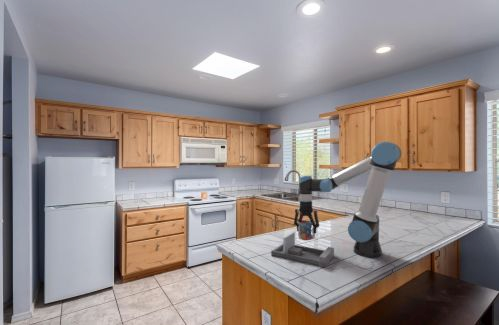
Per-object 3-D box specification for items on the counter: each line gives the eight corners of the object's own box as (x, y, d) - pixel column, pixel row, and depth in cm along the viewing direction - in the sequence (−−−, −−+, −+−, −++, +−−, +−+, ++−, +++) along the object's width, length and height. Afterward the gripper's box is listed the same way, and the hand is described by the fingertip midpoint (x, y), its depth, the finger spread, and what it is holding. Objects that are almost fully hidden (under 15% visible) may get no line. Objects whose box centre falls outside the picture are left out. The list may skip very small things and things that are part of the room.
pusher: (304, 250, 149) (304, 233, 149) (295, 258, 137) (295, 239, 137) (292, 248, 153) (293, 231, 152) (283, 255, 141) (283, 237, 141)
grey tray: (333, 256, 142) (333, 247, 142) (325, 267, 127) (325, 257, 127) (284, 246, 157) (284, 238, 157) (271, 255, 143) (271, 246, 143)
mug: (305, 242, 150) (304, 224, 150) (295, 238, 158) (294, 221, 158) (320, 239, 156) (319, 221, 156) (309, 235, 164) (309, 219, 164)
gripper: (324, 200, 155) (325, 238, 155) (292, 199, 166) (292, 233, 166) (321, 202, 149) (321, 241, 149) (287, 200, 160) (288, 236, 160)
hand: (306, 237), depth 157 cm, fingers closed on mug, 8 cm apart
